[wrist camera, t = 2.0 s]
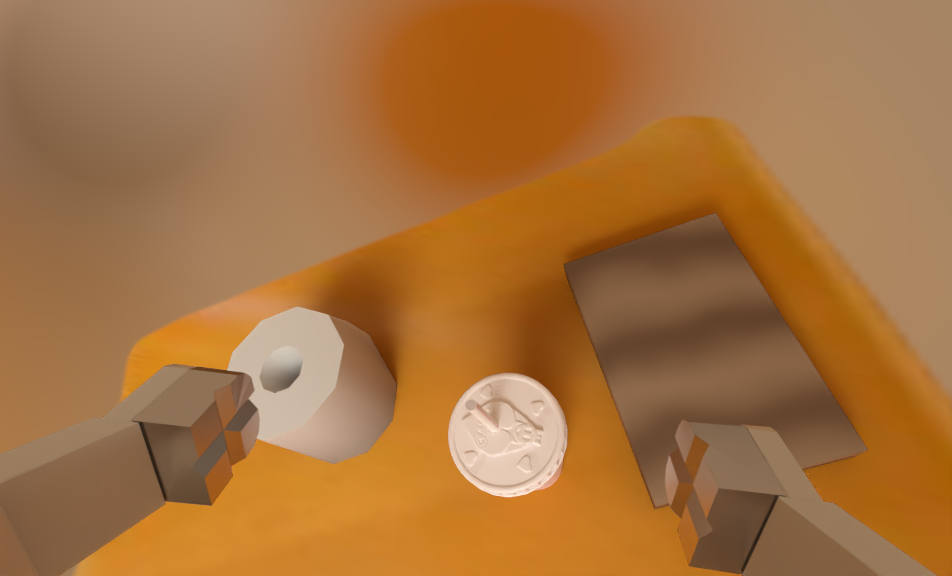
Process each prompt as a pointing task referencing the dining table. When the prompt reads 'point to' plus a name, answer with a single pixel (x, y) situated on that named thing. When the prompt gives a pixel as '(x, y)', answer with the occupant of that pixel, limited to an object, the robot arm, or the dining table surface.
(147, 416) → the robot arm
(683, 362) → the walnut board
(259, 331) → the toilet tissue
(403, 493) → the dining table surface
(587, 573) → the dining table surface
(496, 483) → the smoothie
